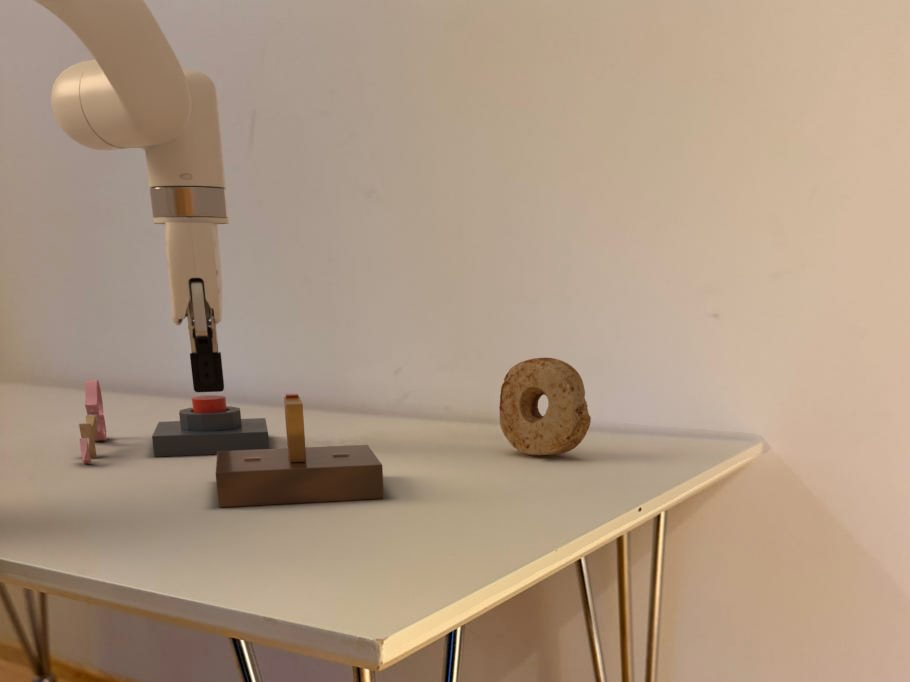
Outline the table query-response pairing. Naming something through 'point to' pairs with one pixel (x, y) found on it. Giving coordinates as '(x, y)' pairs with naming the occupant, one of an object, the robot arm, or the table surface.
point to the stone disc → (563, 414)
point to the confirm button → (209, 404)
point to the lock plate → (298, 476)
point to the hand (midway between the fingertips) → (209, 390)
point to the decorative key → (92, 421)
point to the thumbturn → (295, 428)
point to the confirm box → (209, 433)
